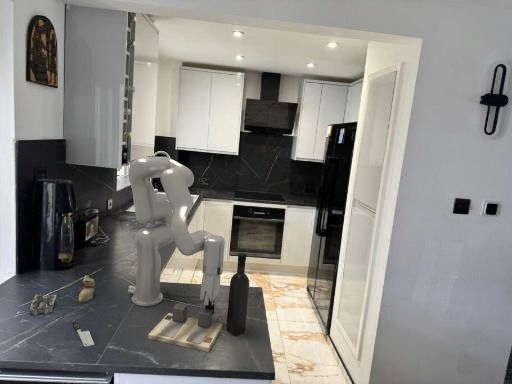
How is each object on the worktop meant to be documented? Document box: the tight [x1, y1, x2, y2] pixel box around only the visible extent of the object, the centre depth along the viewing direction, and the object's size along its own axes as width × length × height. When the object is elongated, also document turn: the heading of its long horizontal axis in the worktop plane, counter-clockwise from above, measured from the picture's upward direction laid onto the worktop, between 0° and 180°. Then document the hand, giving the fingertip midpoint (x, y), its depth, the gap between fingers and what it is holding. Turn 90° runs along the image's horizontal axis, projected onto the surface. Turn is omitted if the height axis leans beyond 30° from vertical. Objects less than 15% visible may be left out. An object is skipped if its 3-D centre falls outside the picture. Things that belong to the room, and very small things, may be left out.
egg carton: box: [29, 293, 57, 316], centre depth 128 cm, size 11×8×4 cm
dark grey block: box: [172, 302, 188, 322], centre depth 125 cm, size 4×4×5 cm
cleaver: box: [72, 319, 95, 348], centre depth 116 cm, size 17×1×5 cm
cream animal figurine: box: [77, 275, 96, 304], centre depth 137 cm, size 6×8×10 cm
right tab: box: [197, 307, 213, 328], centre depth 123 cm, size 4×4×5 cm
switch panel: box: [147, 312, 223, 353], centre depth 121 cm, size 22×15×2 cm
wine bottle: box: [225, 252, 250, 337], centre depth 122 cm, size 6×6×30 cm
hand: (209, 313), depth 128 cm, fingers closed
